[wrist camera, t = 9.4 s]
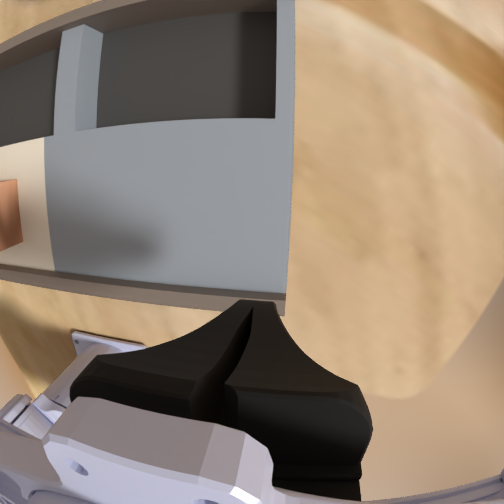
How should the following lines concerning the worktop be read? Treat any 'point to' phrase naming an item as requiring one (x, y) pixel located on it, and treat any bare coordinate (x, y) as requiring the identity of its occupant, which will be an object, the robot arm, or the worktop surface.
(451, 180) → the worktop surface
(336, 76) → the worktop surface
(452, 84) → the worktop surface
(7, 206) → the block
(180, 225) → the box
